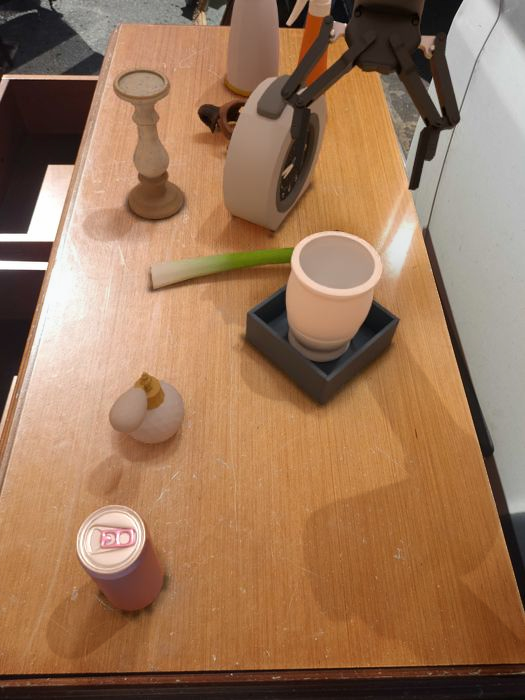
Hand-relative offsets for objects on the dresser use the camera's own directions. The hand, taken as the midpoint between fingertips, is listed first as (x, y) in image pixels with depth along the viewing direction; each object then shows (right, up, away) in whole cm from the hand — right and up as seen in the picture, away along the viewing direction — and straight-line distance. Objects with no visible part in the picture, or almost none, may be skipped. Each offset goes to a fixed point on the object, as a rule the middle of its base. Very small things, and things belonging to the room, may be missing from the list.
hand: (354, 179), depth 65 cm
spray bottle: (-4, +24, +42) cm, 49 cm away
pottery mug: (-17, +19, +38) cm, 45 cm away
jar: (-3, -18, +12) cm, 22 cm away
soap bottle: (-13, +34, +49) cm, 61 cm away
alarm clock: (-9, +5, +29) cm, 30 cm away
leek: (-12, -8, +19) cm, 24 cm away
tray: (-3, -19, +12) cm, 22 cm away
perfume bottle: (-24, -30, +3) cm, 38 cm away
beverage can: (-24, -44, -7) cm, 50 cm away
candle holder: (-28, +4, +27) cm, 39 cm away
